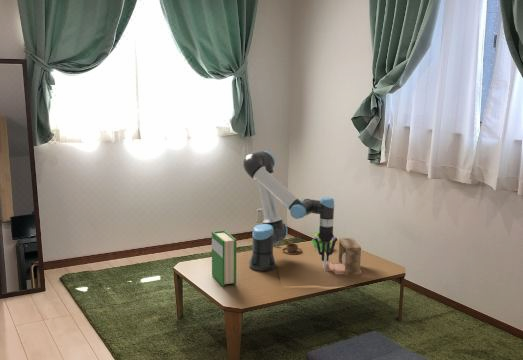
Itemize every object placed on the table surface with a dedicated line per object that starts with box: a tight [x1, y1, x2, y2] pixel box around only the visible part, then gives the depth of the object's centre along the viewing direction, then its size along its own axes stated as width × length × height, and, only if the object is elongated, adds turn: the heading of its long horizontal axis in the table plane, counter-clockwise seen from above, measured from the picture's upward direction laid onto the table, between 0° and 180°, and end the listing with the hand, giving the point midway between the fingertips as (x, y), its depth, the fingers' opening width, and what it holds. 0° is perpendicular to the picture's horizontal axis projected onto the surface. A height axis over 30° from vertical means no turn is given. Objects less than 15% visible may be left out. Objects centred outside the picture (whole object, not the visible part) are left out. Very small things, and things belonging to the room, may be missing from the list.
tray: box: [324, 262, 362, 275], centre depth 289 cm, size 18×15×3 cm
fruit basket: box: [311, 231, 332, 251], centre depth 325 cm, size 11×9×11 cm
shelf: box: [337, 237, 362, 276], centre depth 288 cm, size 8×18×16 cm, turn 4°
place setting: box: [273, 243, 303, 256], centre depth 322 cm, size 18×20×6 cm
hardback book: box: [211, 230, 237, 287], centre depth 270 cm, size 18×7×24 cm, turn 23°
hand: (324, 266), depth 288 cm, fingers closed
